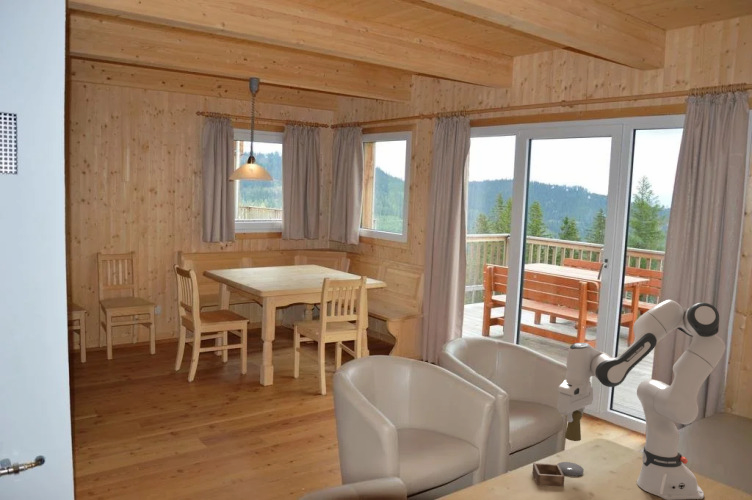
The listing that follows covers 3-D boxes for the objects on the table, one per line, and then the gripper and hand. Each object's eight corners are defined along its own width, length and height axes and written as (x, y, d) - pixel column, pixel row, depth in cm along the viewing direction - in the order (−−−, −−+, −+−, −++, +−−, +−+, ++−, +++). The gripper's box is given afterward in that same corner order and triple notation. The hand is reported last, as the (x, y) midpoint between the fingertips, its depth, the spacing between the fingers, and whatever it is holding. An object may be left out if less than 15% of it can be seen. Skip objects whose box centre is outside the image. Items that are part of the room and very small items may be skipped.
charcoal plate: (579, 465, 247) (579, 462, 247) (586, 477, 237) (586, 474, 237) (554, 463, 247) (554, 461, 247) (560, 475, 237) (560, 473, 237)
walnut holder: (557, 474, 238) (558, 464, 238) (563, 486, 229) (564, 476, 228) (532, 472, 239) (533, 462, 238) (537, 485, 229) (538, 474, 229)
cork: (582, 442, 237) (584, 414, 236) (565, 440, 238) (568, 412, 237) (579, 435, 243) (582, 408, 241) (563, 434, 244) (566, 406, 243)
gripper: (583, 377, 247) (581, 410, 249) (555, 388, 233) (553, 423, 235) (598, 381, 242) (595, 415, 244) (570, 392, 229) (567, 428, 230)
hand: (574, 419), depth 239 cm, fingers closed on cork, 5 cm apart
